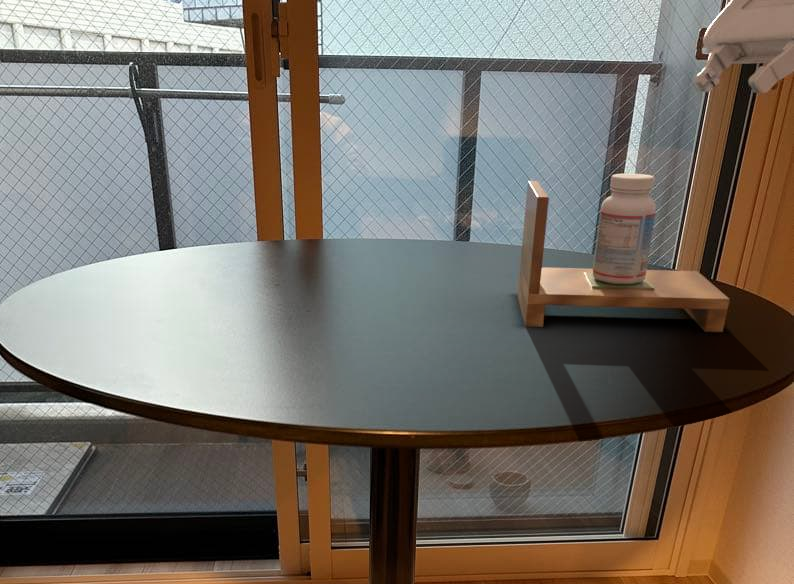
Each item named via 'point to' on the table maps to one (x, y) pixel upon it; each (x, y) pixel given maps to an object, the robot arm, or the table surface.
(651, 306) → the shelf
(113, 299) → the table surface
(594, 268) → the pill bottle
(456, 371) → the table surface
